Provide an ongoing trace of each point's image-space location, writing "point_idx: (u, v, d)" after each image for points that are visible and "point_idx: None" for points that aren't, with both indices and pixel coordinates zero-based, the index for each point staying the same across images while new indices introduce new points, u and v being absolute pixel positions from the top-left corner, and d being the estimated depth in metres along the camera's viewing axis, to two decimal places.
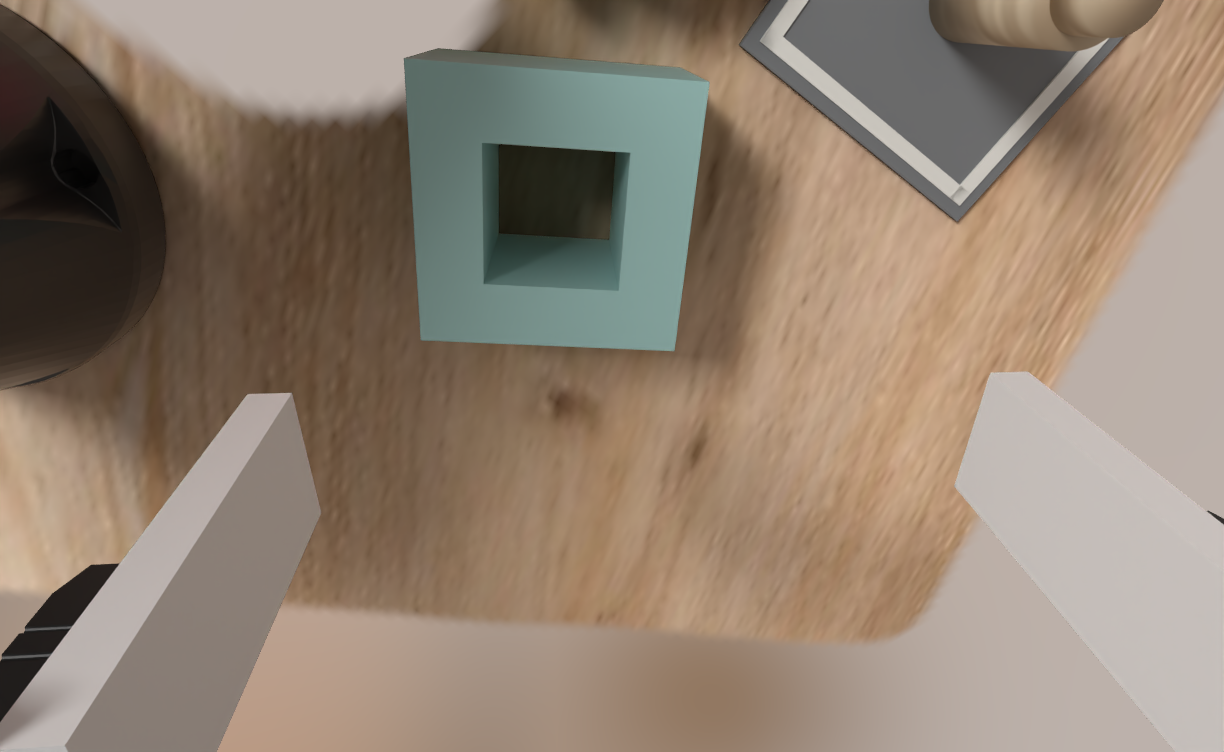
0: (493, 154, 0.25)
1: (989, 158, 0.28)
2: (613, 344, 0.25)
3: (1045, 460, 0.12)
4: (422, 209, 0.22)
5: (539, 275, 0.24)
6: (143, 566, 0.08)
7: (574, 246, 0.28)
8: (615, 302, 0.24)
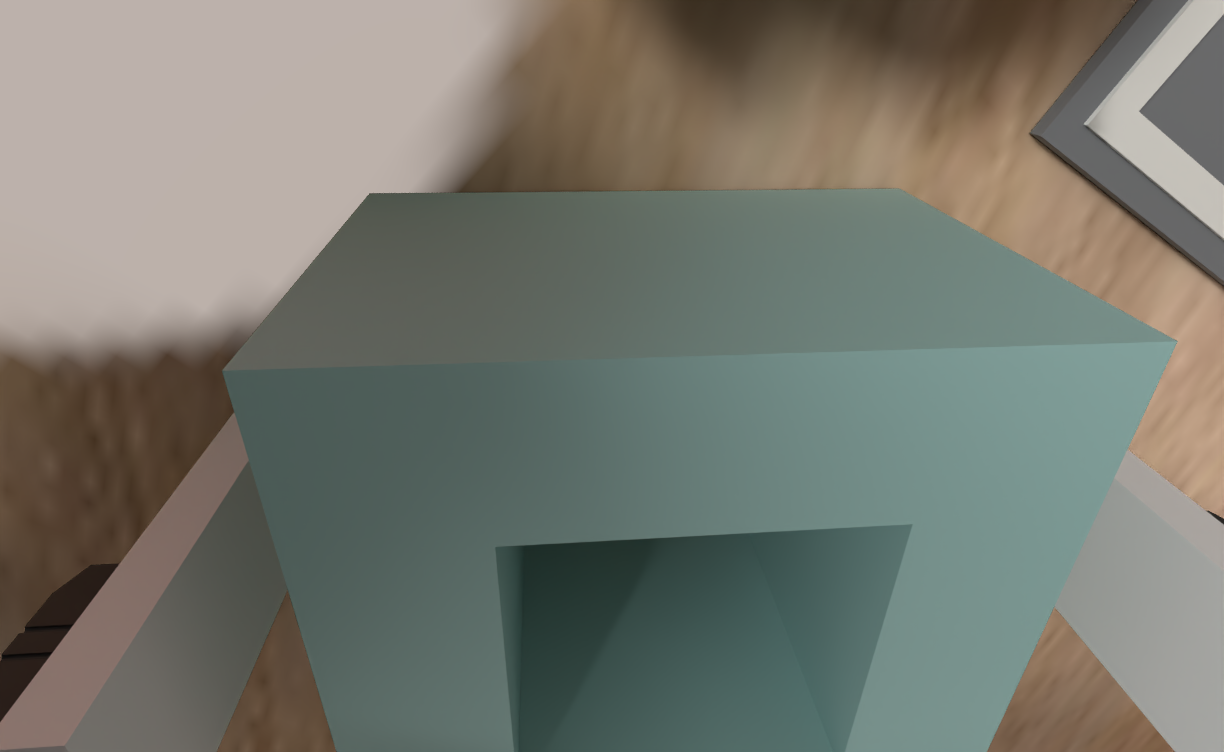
0: None
1: None
2: None
3: None
4: (345, 693, 0.08)
5: (638, 708, 0.11)
6: (143, 566, 0.08)
7: (678, 542, 0.14)
8: None
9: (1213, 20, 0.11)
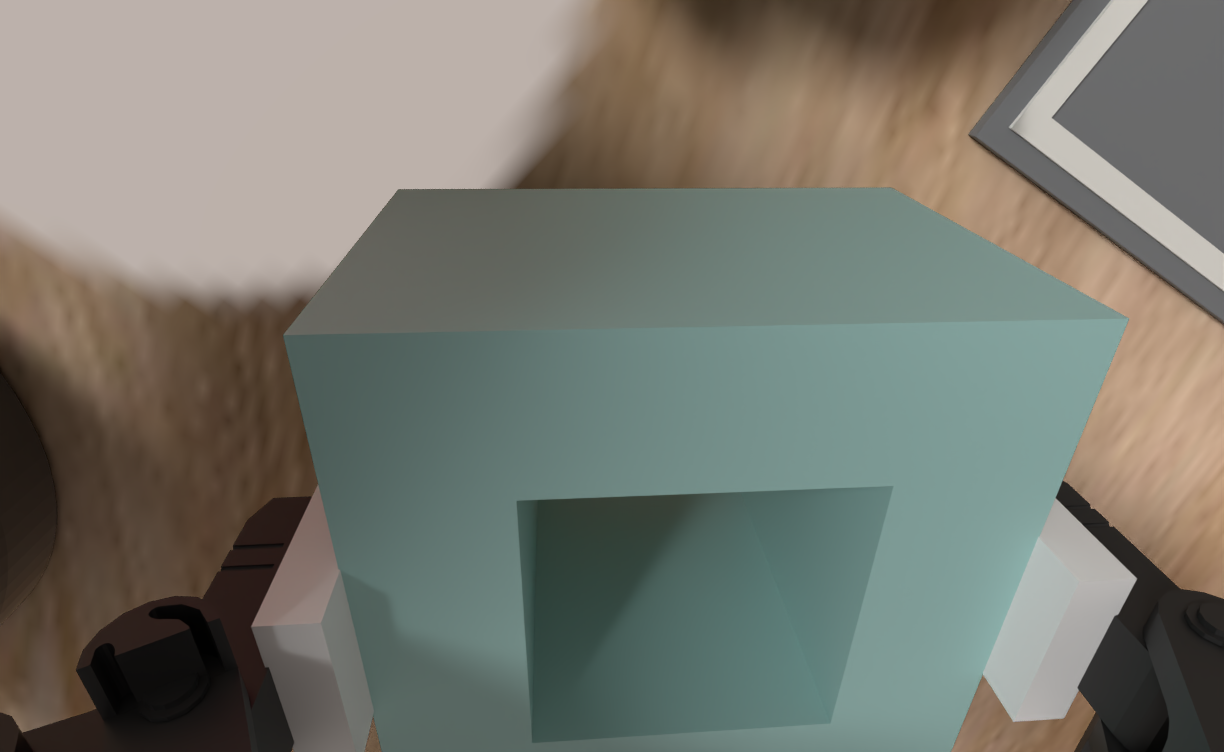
0: None
1: None
2: None
3: None
4: (378, 637, 0.09)
5: (643, 668, 0.11)
6: None
7: (682, 520, 0.15)
8: (821, 741, 0.11)
9: (1105, 48, 0.14)
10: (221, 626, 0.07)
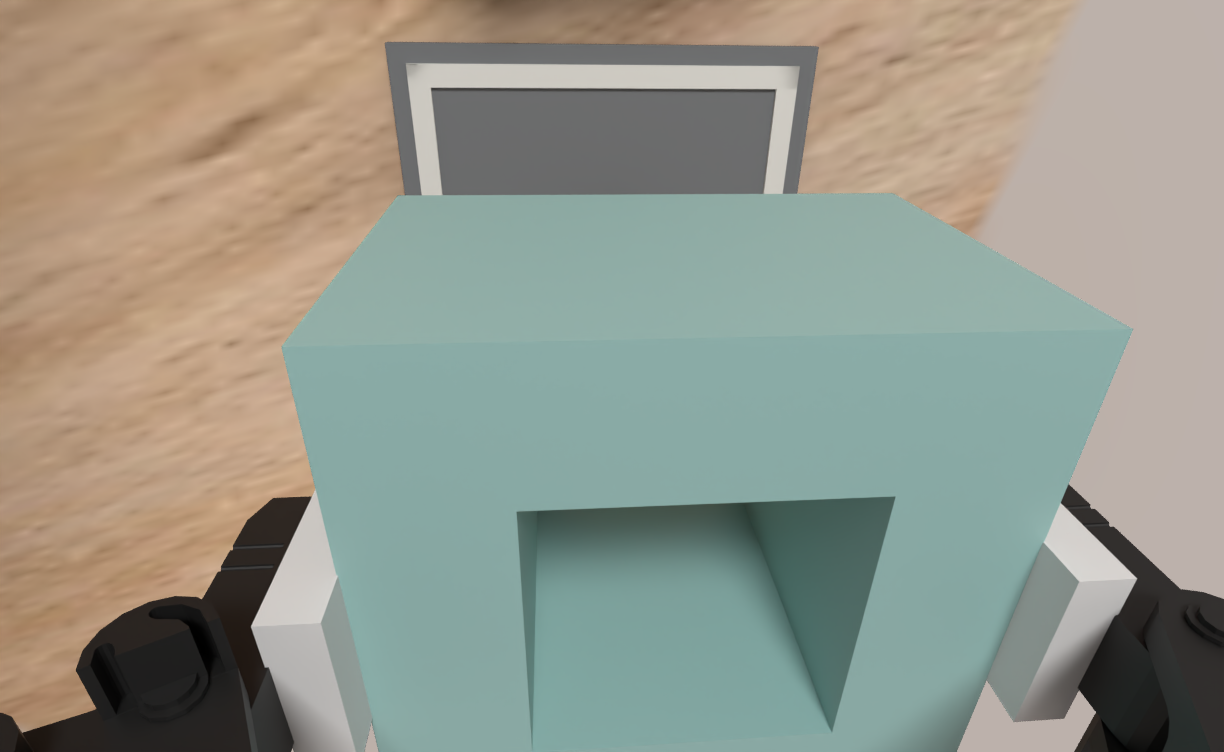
0: None
1: None
2: None
3: None
4: (377, 648, 0.09)
5: (644, 677, 0.11)
6: None
7: (683, 527, 0.15)
8: (822, 750, 0.11)
9: (487, 87, 0.19)
10: (221, 626, 0.07)
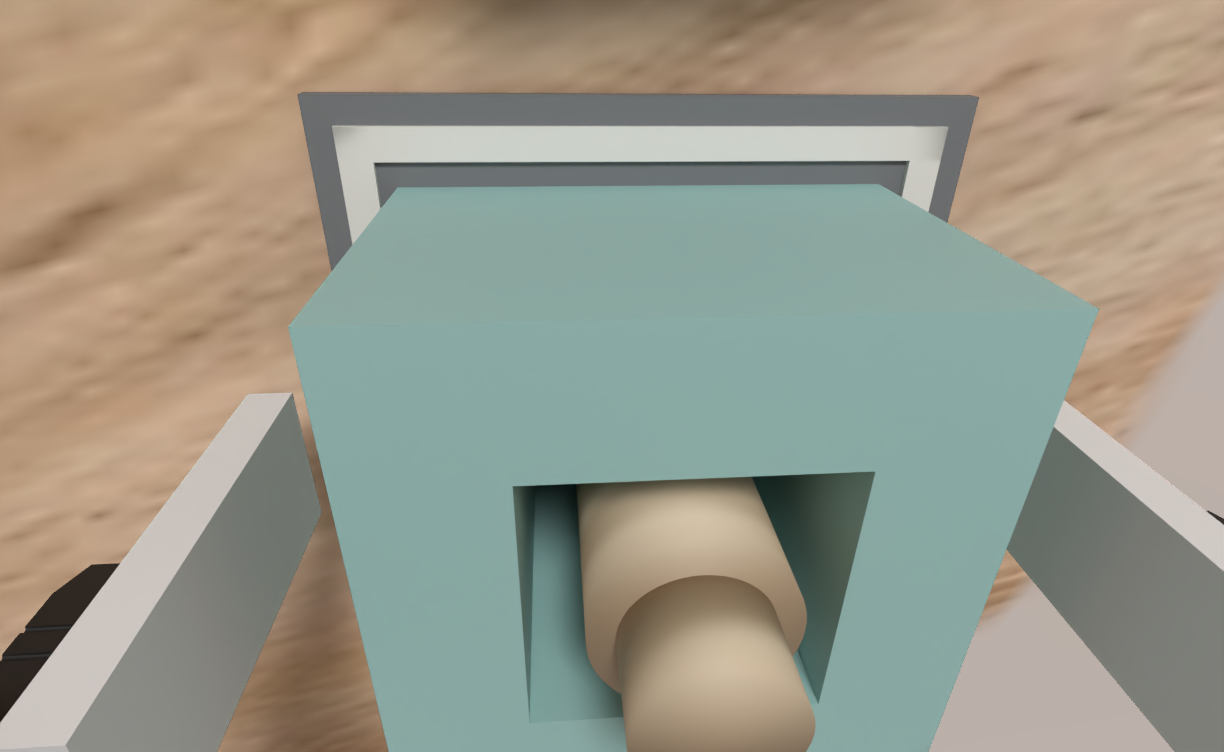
0: None
1: None
2: None
3: (1045, 461, 0.12)
4: (380, 620, 0.09)
5: None
6: (143, 566, 0.08)
7: None
8: None
9: (462, 160, 0.12)
10: None
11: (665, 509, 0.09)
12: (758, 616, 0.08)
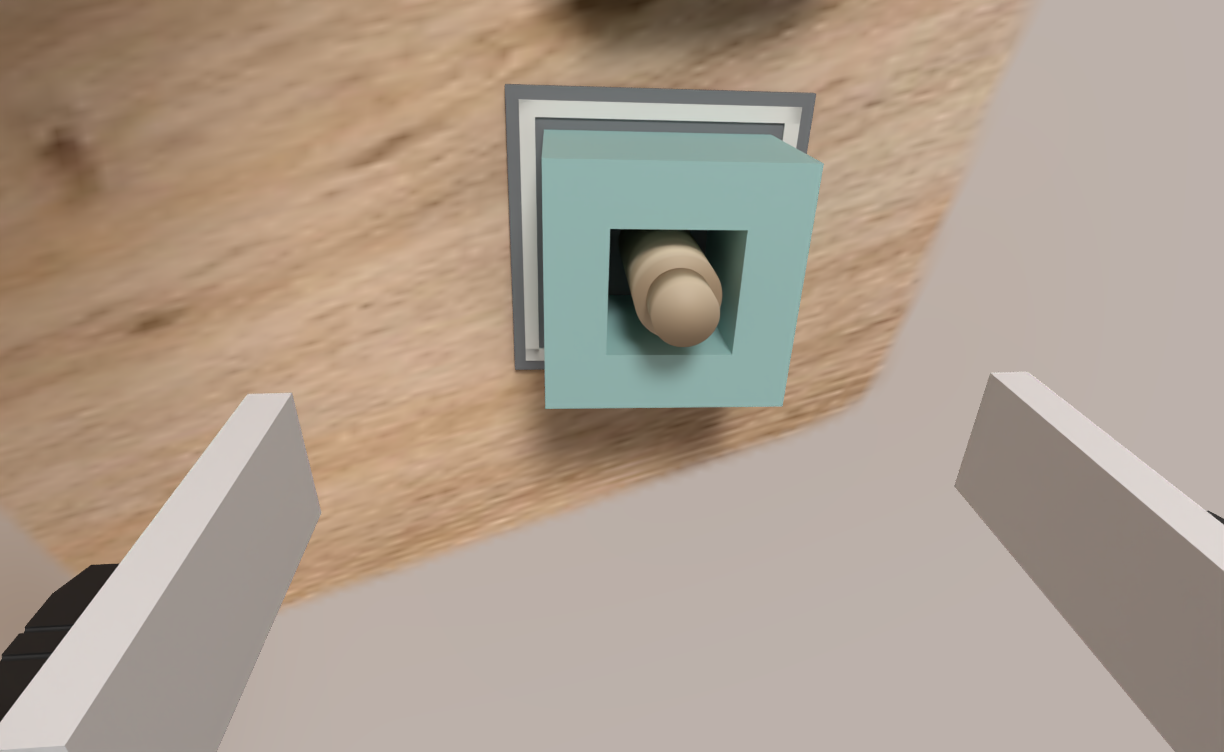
0: None
1: None
2: (725, 403, 0.26)
3: (1046, 461, 0.12)
4: (552, 291, 0.23)
5: (652, 341, 0.26)
6: (143, 566, 0.08)
7: None
8: (728, 365, 0.25)
9: (575, 117, 0.26)
10: None
11: (666, 249, 0.23)
12: (701, 278, 0.22)
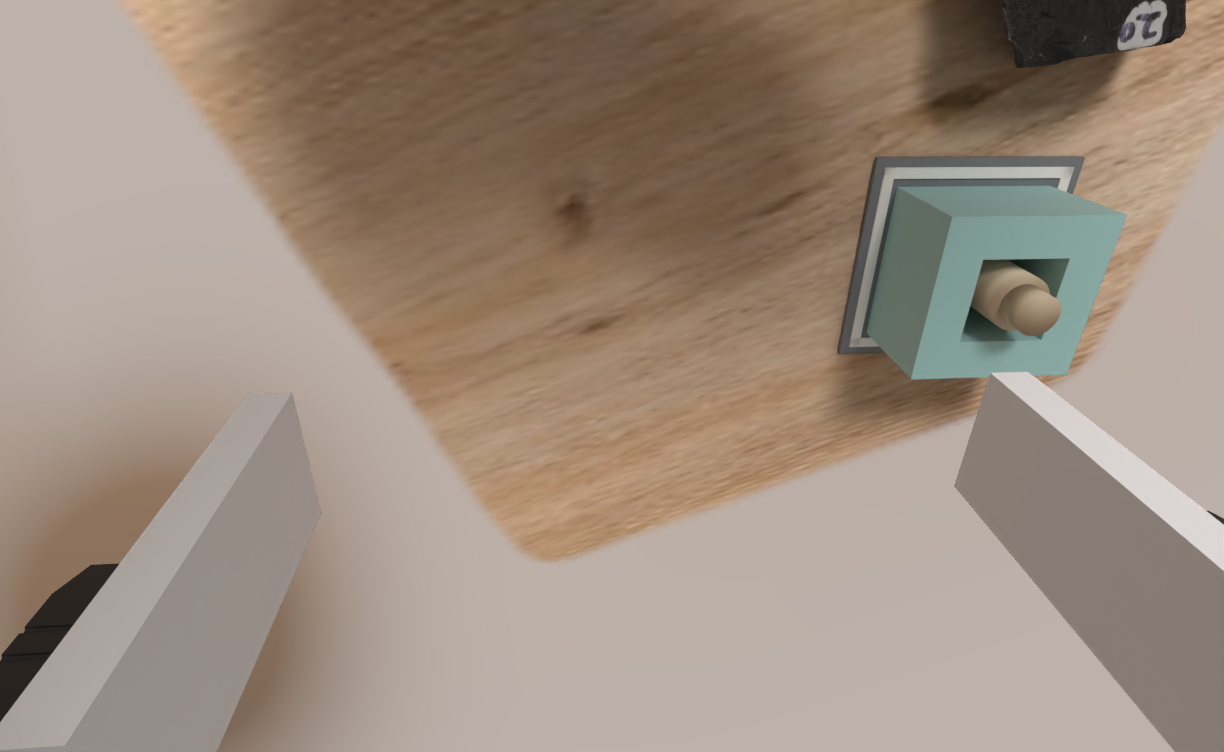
0: None
1: None
2: None
3: (1046, 461, 0.12)
4: (936, 300, 0.35)
5: (980, 332, 0.38)
6: (143, 566, 0.08)
7: None
8: (1037, 347, 0.37)
9: (919, 178, 0.38)
10: None
11: (1011, 271, 0.35)
12: (1043, 291, 0.34)
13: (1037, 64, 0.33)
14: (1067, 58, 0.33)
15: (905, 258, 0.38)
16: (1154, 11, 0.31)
